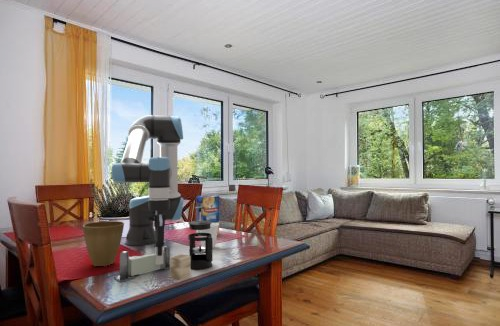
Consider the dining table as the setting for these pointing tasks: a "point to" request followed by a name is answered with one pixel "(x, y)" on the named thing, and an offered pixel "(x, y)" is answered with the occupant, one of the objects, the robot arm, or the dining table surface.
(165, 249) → the post
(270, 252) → the dining table surface
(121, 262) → the metal knob post
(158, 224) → the robot arm
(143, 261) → the gate
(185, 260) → the block
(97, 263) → the plant pot
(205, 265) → the french press
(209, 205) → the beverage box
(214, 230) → the cup
